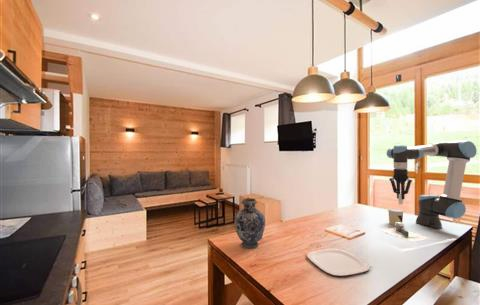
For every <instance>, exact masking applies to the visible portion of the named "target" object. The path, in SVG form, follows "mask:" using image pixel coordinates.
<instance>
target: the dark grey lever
mask: <svg viewBox="0 0 480 305" xmlns="http://www.w3.org/2000/svg"><path fill="white" fill-rule="evenodd" d="M394 226H395V227H396V231H399V232H401V233H402V234H404V235H405V236H408V231H409V230H406V229H405V228H404V227H405V223H404V222H402V223H399V222H395V225H394Z"/></svg>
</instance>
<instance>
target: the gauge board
mask: <svg viewBox="0 0 480 305" xmlns="http://www.w3.org/2000/svg"><path fill="white" fill-rule="evenodd" d="M379 231H380V232H384V233H385V234H389V235H391V236H395V237H397V238H401V239H403V240H405V241H407V242H411V243H417V242H421V241H425V240H430V239H431V237H429V236H425V235H422V234H419V233H416V232H412V231H409V230H407V231H408V236H405V235H404V234H402V233H401V232H399V231H396V226H395V227H390V228H383V229H379Z"/></svg>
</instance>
